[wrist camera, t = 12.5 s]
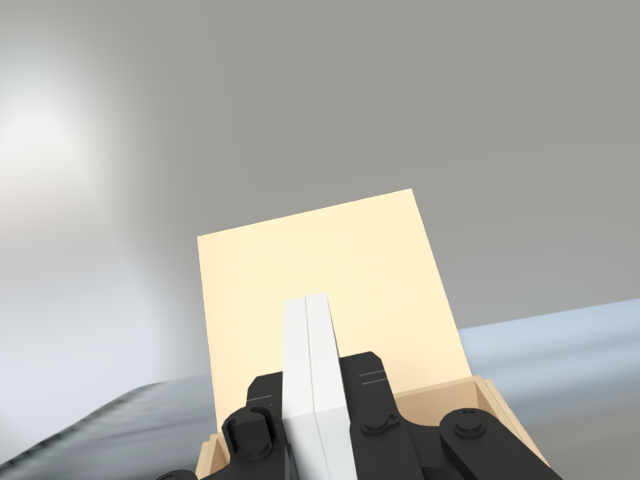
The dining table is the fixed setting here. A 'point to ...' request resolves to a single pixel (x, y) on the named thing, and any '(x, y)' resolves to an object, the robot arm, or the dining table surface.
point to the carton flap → (329, 294)
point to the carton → (409, 415)
